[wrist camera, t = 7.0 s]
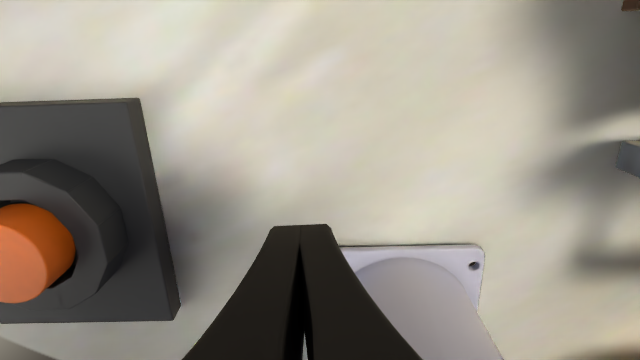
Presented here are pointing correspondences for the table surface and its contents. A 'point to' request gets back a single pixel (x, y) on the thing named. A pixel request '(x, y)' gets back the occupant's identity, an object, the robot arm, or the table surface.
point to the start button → (31, 251)
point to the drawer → (629, 157)
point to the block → (91, 208)
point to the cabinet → (631, 5)
